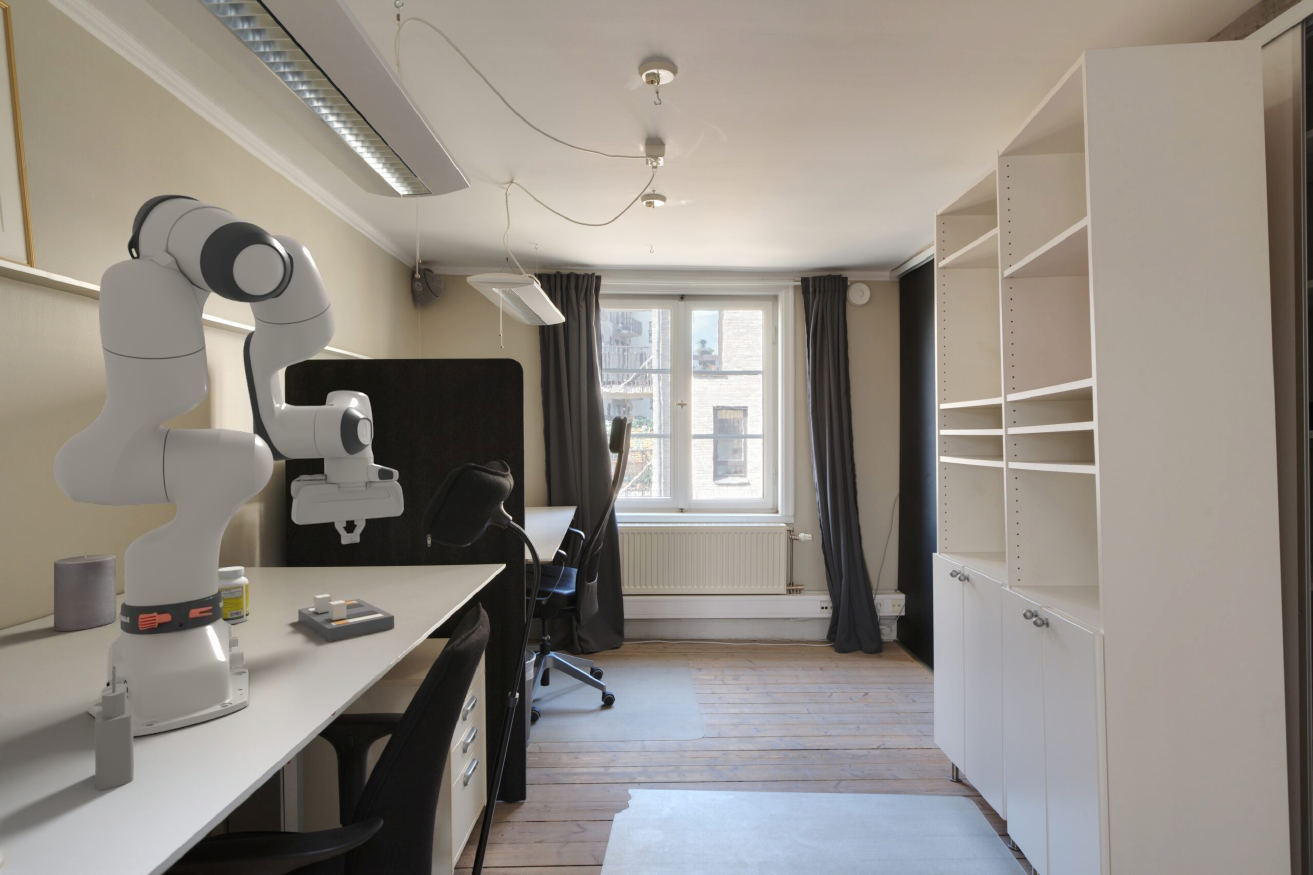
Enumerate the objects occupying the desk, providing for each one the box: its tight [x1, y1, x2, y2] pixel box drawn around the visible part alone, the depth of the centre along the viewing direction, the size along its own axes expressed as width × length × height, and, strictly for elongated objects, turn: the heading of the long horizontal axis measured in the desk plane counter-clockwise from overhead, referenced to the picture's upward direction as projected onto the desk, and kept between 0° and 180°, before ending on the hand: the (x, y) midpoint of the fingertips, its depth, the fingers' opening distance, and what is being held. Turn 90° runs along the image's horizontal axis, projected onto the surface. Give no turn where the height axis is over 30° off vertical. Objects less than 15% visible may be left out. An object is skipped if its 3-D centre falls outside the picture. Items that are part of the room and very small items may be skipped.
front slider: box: [329, 599, 346, 620], centre depth 125 cm, size 3×2×3 cm
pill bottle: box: [218, 565, 250, 625], centre depth 133 cm, size 6×6×11 cm
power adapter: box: [94, 666, 135, 791], centre depth 71 cm, size 3×5×12 cm, turn 39°
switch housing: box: [297, 598, 395, 642], centre depth 129 cm, size 20×12×2 cm, turn 43°
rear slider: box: [313, 593, 332, 613], centre depth 130 cm, size 3×2×3 cm
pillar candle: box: [53, 551, 117, 632], centre depth 132 cm, size 10×10×15 cm
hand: (350, 543), depth 127 cm, fingers closed
